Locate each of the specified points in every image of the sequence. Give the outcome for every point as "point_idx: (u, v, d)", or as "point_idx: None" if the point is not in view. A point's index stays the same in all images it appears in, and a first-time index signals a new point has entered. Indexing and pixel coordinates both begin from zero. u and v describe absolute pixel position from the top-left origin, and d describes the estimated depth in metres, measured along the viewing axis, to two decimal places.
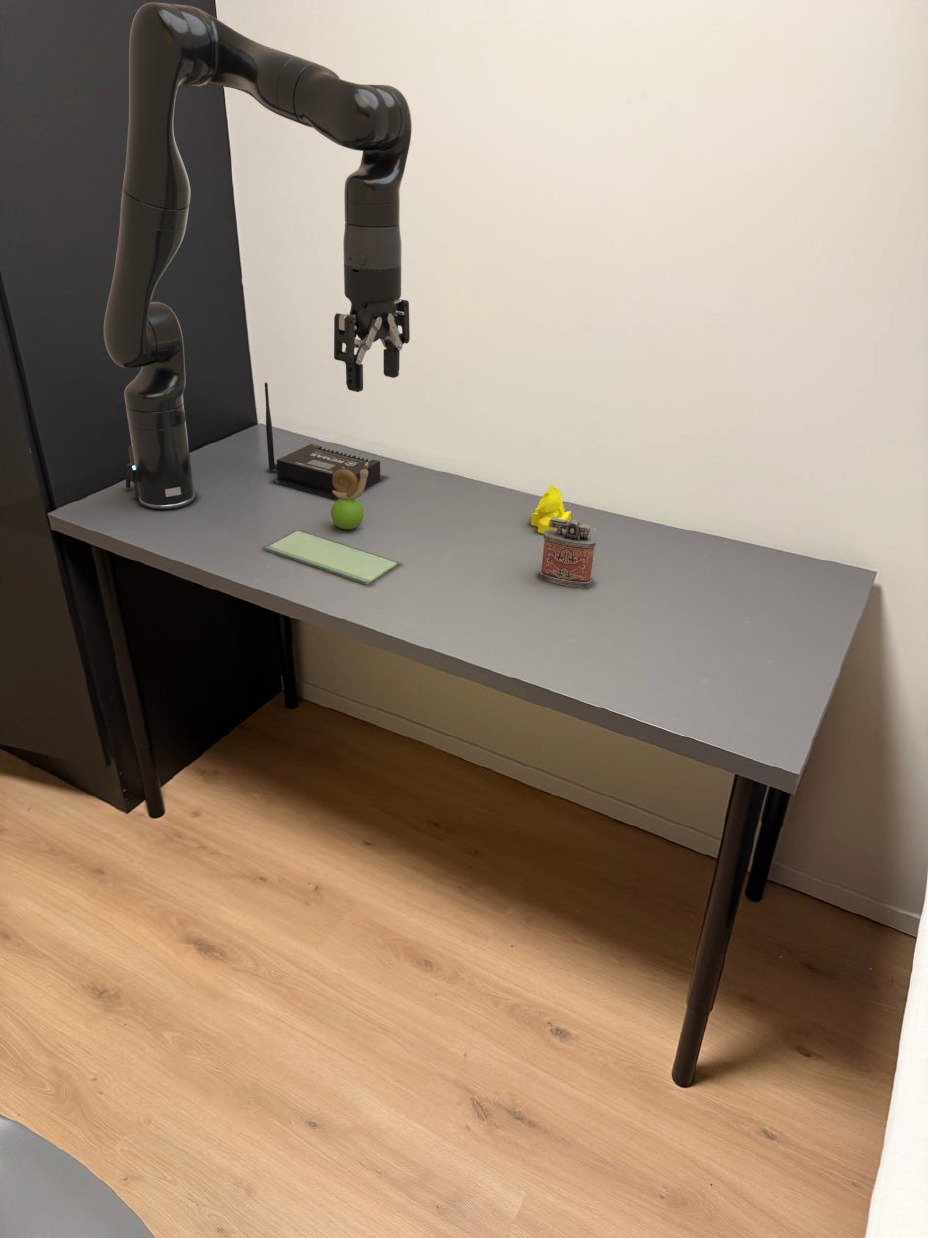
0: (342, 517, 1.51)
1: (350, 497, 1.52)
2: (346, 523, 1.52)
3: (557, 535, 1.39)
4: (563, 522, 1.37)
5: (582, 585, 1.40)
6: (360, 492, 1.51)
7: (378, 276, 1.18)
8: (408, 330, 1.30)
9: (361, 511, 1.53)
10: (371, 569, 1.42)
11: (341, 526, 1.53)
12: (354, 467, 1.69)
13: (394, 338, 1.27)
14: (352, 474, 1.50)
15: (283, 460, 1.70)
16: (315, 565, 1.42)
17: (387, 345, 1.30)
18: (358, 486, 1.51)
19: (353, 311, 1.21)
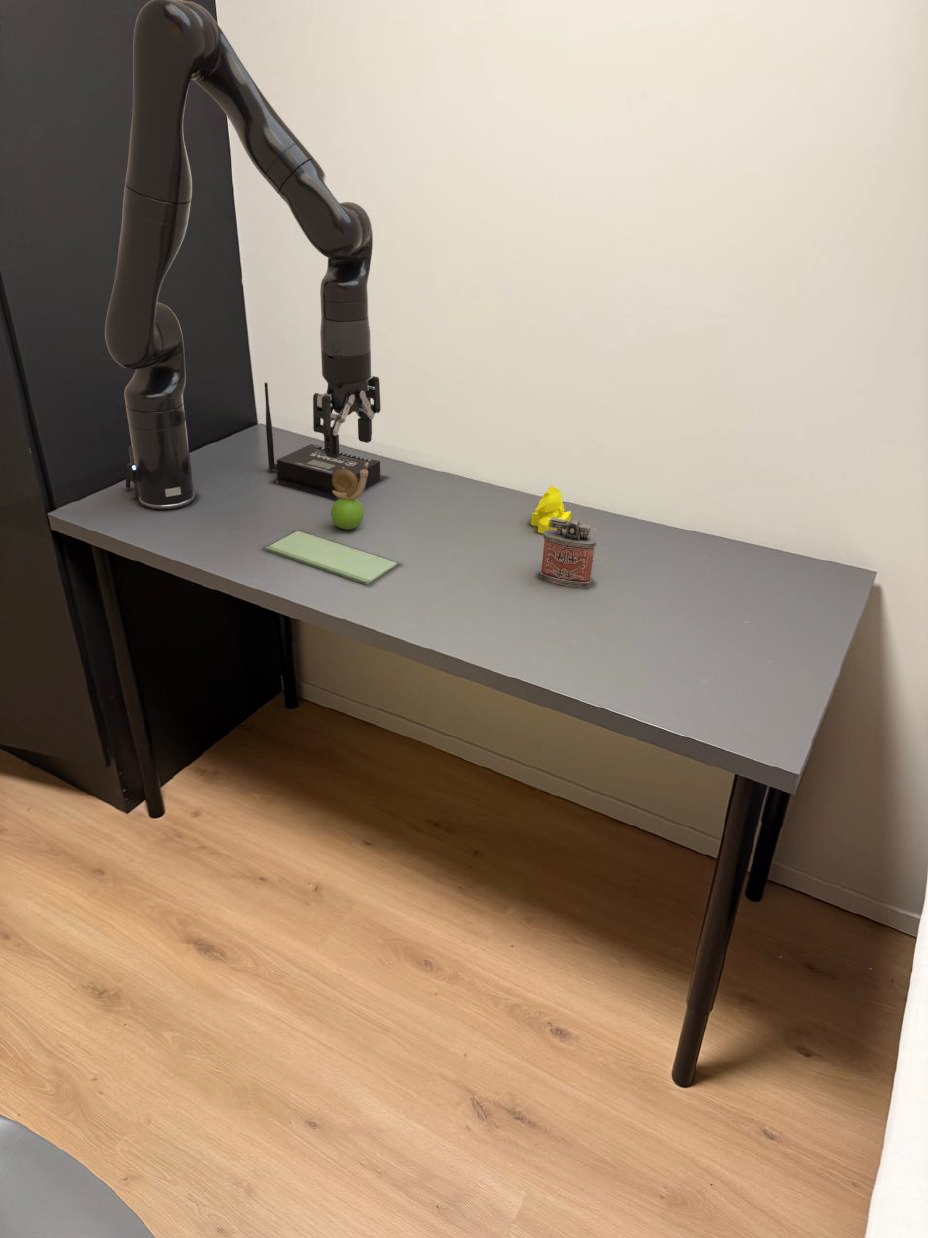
0: (342, 517, 1.51)
1: (350, 497, 1.52)
2: (346, 523, 1.52)
3: (557, 535, 1.39)
4: (563, 522, 1.37)
5: (582, 585, 1.40)
6: (360, 492, 1.51)
7: (350, 361, 1.37)
8: (379, 402, 1.49)
9: (361, 511, 1.53)
10: (371, 569, 1.42)
11: (341, 526, 1.53)
12: (354, 467, 1.69)
13: (366, 410, 1.46)
14: (352, 474, 1.50)
15: (283, 460, 1.70)
16: (315, 565, 1.42)
17: (361, 415, 1.49)
18: (358, 486, 1.51)
19: (329, 390, 1.40)
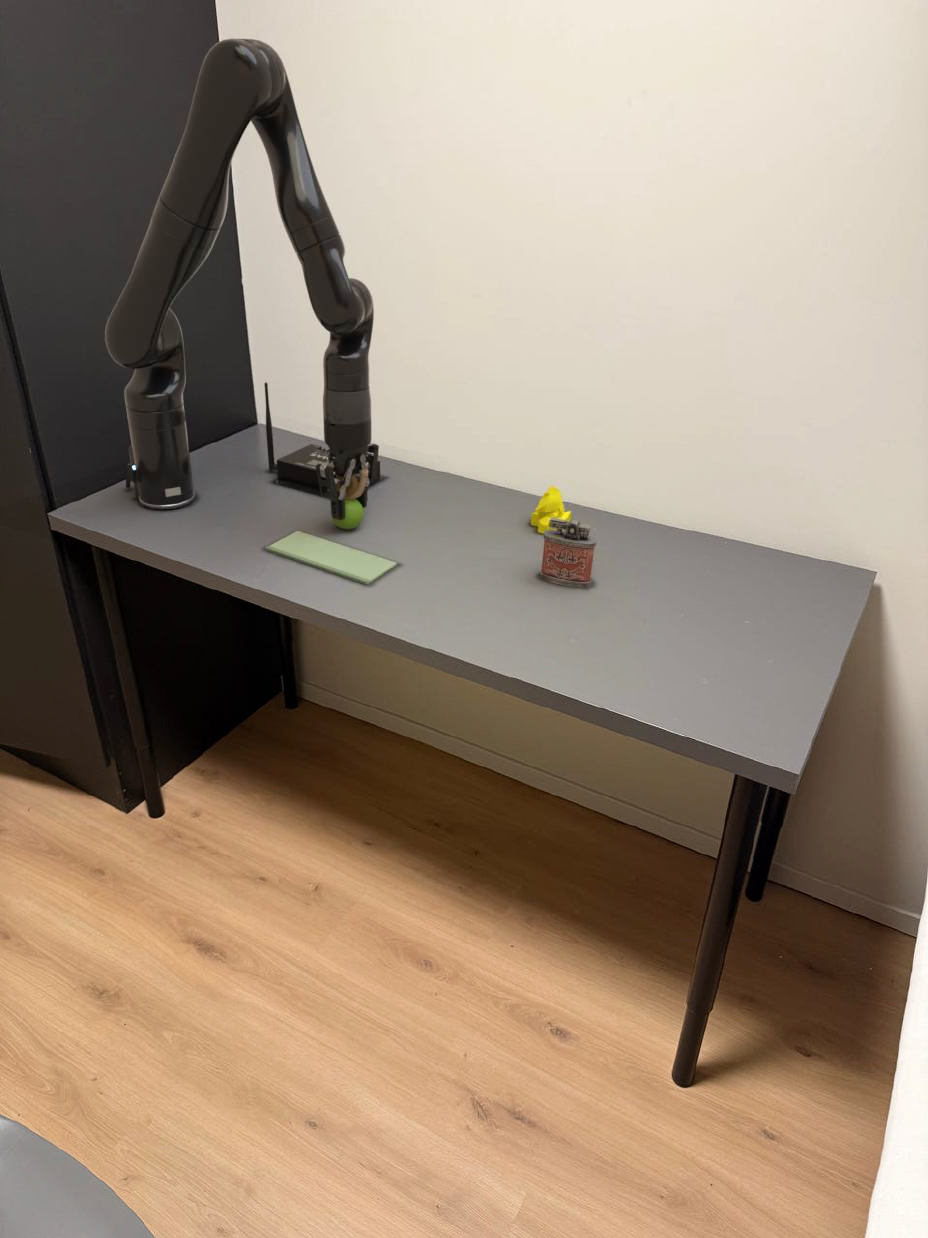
0: None
1: (350, 497, 1.52)
2: (346, 523, 1.52)
3: (557, 535, 1.39)
4: (563, 522, 1.37)
5: (582, 585, 1.40)
6: (360, 492, 1.51)
7: (351, 429, 1.43)
8: (375, 469, 1.54)
9: (361, 511, 1.53)
10: (371, 569, 1.42)
11: (341, 526, 1.53)
12: None
13: None
14: None
15: (283, 460, 1.70)
16: (315, 565, 1.42)
17: None
18: (358, 486, 1.51)
19: (331, 457, 1.45)
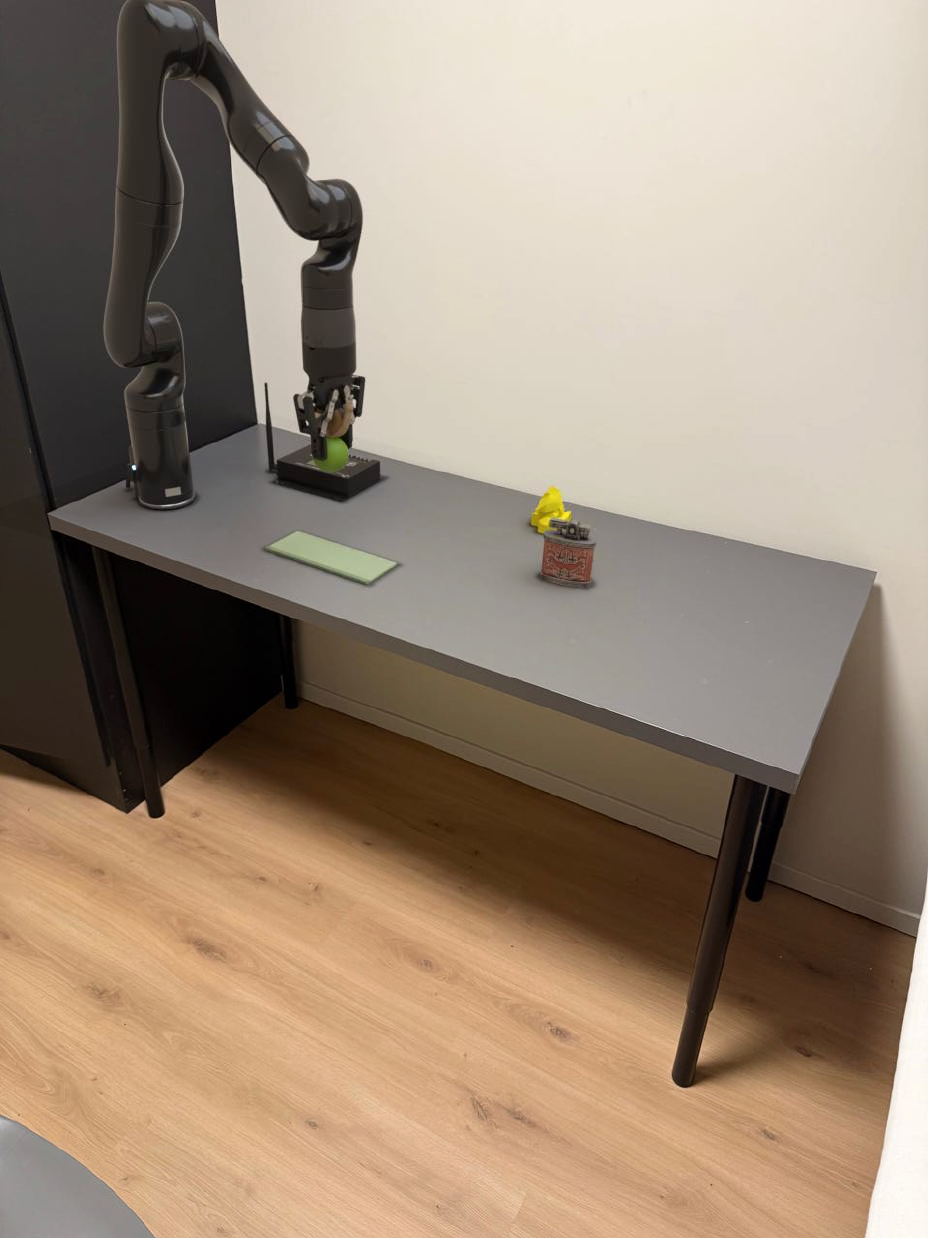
0: None
1: (333, 435, 1.35)
2: (329, 464, 1.35)
3: (557, 535, 1.39)
4: (563, 522, 1.37)
5: (582, 585, 1.40)
6: (344, 429, 1.34)
7: (333, 354, 1.26)
8: (361, 405, 1.37)
9: (346, 451, 1.36)
10: (371, 569, 1.42)
11: (323, 468, 1.36)
12: (354, 467, 1.69)
13: None
14: None
15: (283, 460, 1.70)
16: (315, 565, 1.42)
17: None
18: (342, 422, 1.34)
19: (310, 387, 1.28)
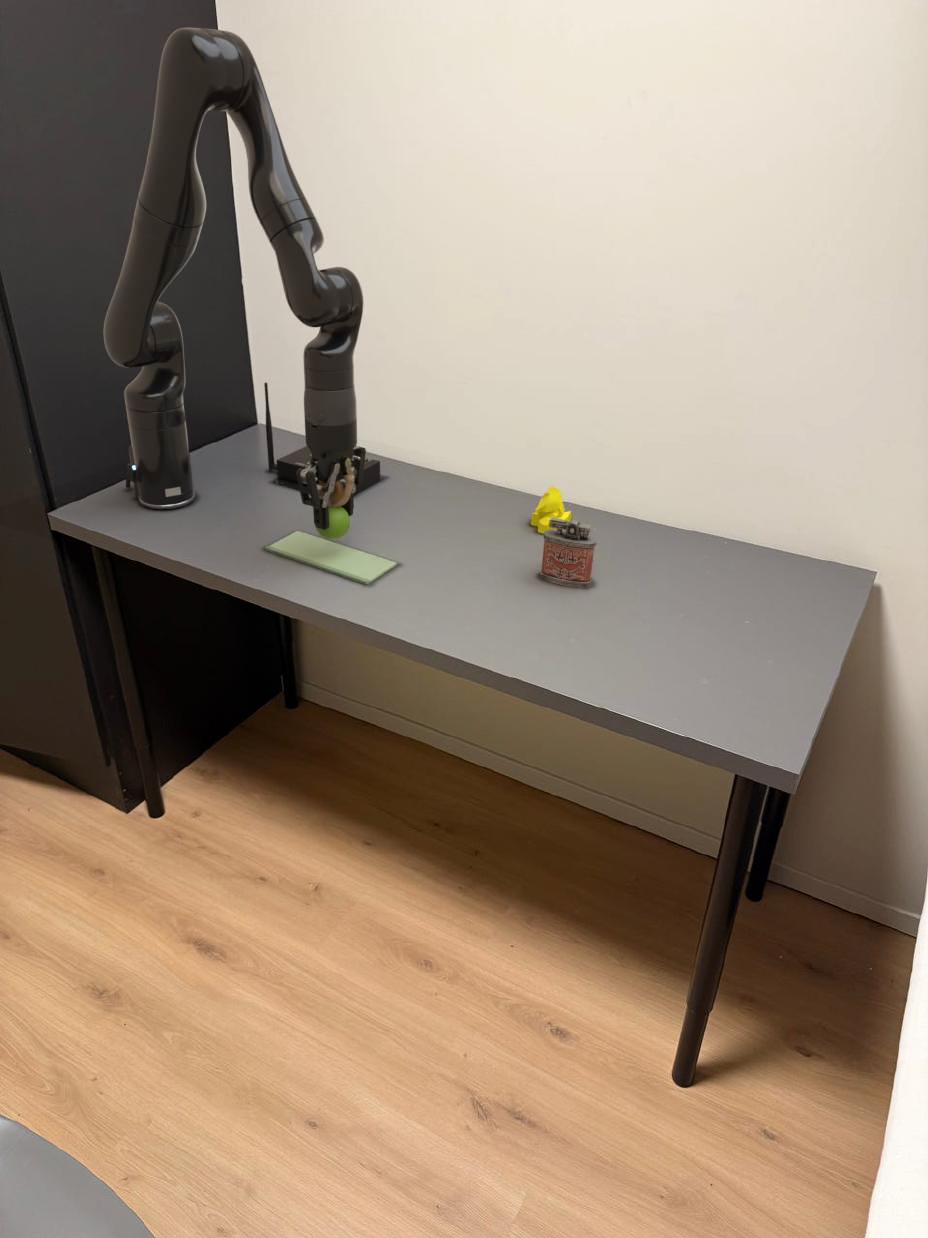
0: None
1: (335, 505, 1.40)
2: (330, 533, 1.40)
3: (557, 535, 1.39)
4: (563, 522, 1.37)
5: (582, 585, 1.40)
6: (346, 499, 1.39)
7: (335, 431, 1.31)
8: (362, 474, 1.43)
9: (347, 520, 1.41)
10: (371, 569, 1.42)
11: (325, 536, 1.41)
12: None
13: None
14: None
15: (283, 460, 1.70)
16: (315, 565, 1.42)
17: None
18: (343, 493, 1.39)
19: (312, 461, 1.34)
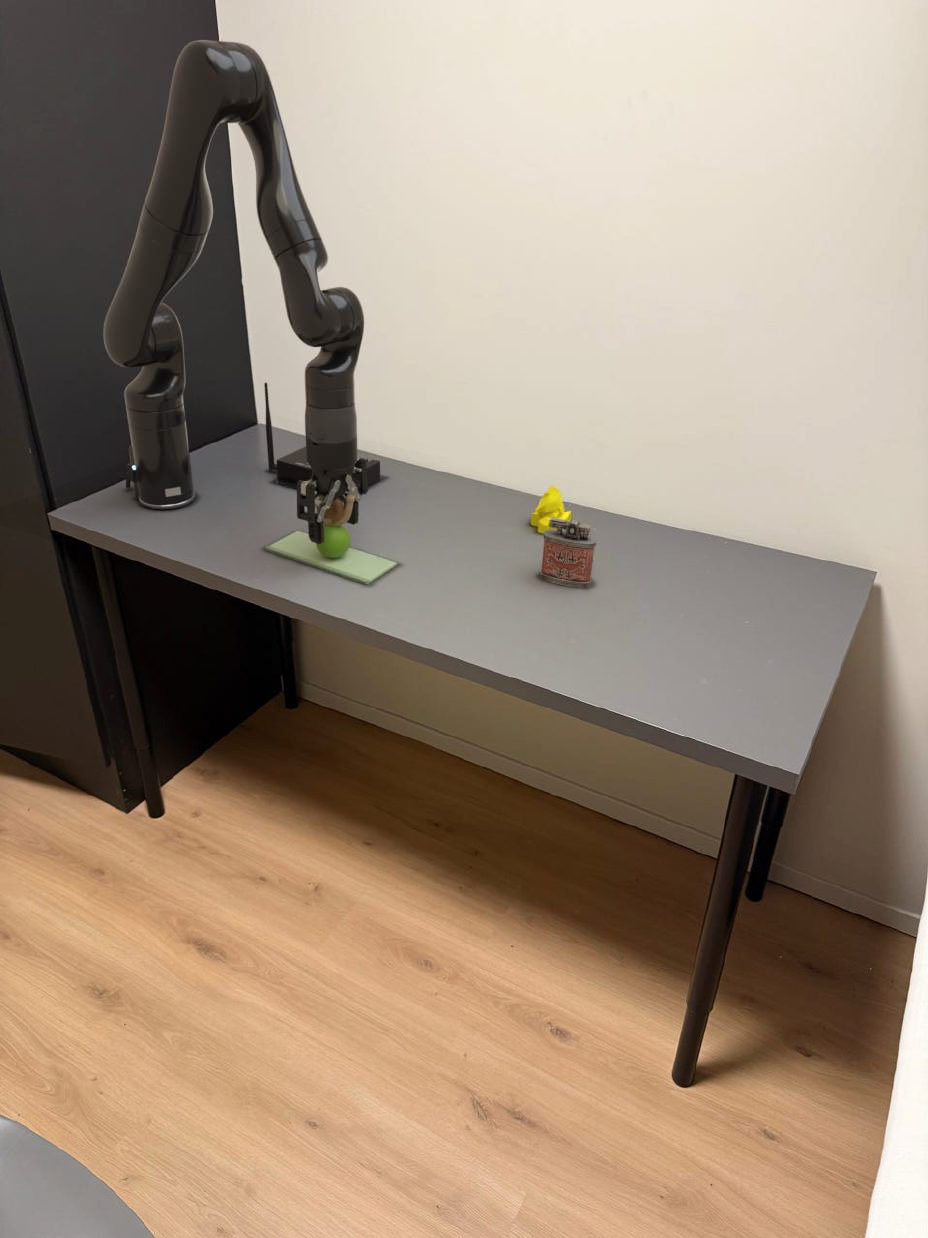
0: (327, 545, 1.41)
1: (335, 524, 1.42)
2: (331, 551, 1.42)
3: (557, 535, 1.39)
4: (563, 522, 1.37)
5: (582, 585, 1.40)
6: (346, 518, 1.41)
7: (335, 449, 1.32)
8: (366, 483, 1.44)
9: (347, 538, 1.43)
10: (371, 569, 1.42)
11: (326, 555, 1.43)
12: None
13: None
14: (338, 499, 1.40)
15: (283, 460, 1.70)
16: (315, 565, 1.42)
17: None
18: (344, 512, 1.41)
19: (314, 476, 1.35)
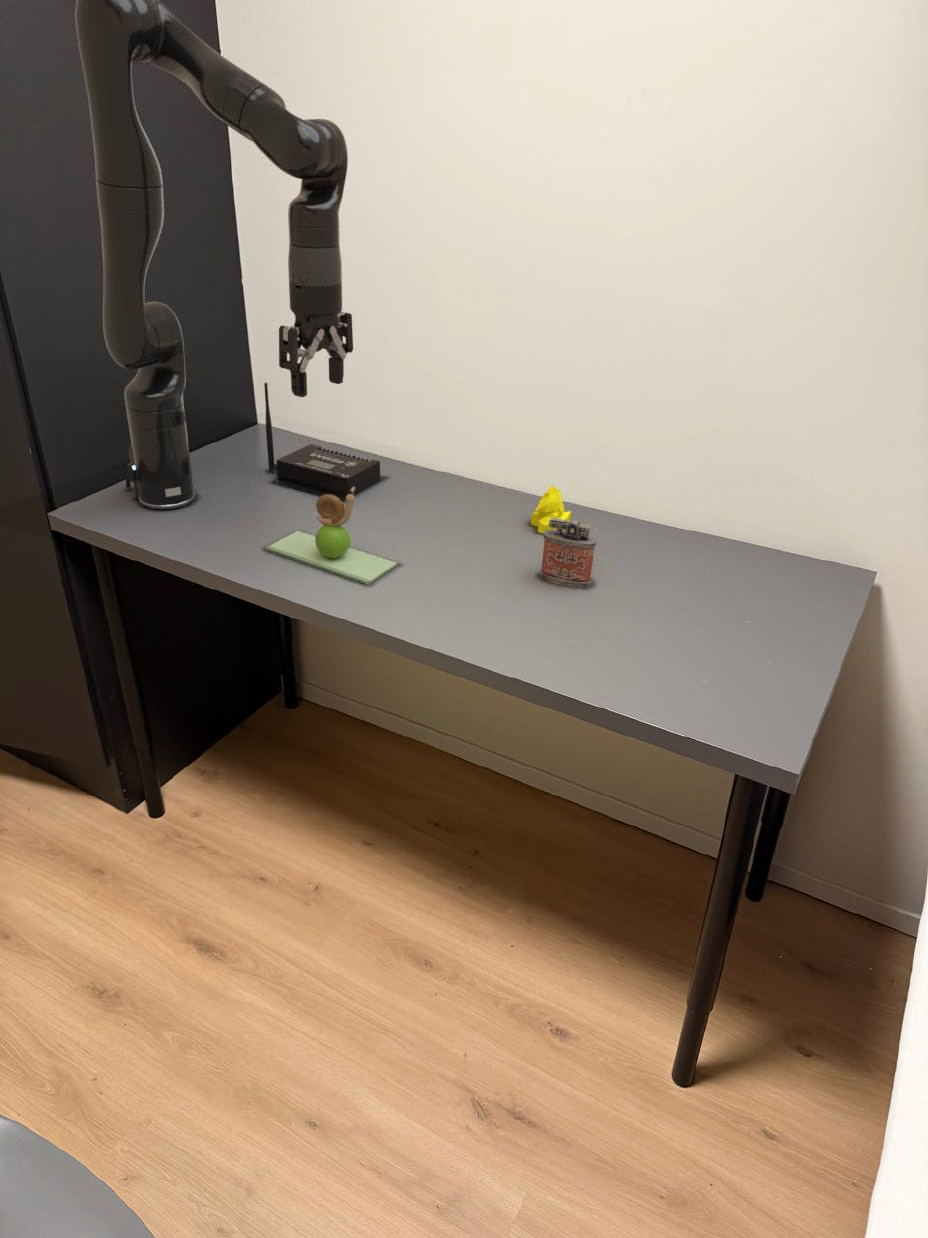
0: (327, 545, 1.41)
1: (335, 524, 1.42)
2: (331, 551, 1.42)
3: (557, 535, 1.39)
4: (563, 522, 1.37)
5: (582, 585, 1.40)
6: (346, 518, 1.41)
7: (319, 292, 1.29)
8: (351, 340, 1.41)
9: (347, 538, 1.43)
10: (371, 569, 1.42)
11: (326, 554, 1.43)
12: (354, 467, 1.69)
13: (337, 348, 1.38)
14: (338, 499, 1.40)
15: (283, 460, 1.70)
16: (315, 565, 1.42)
17: (332, 354, 1.41)
18: (344, 512, 1.41)
19: (297, 323, 1.32)
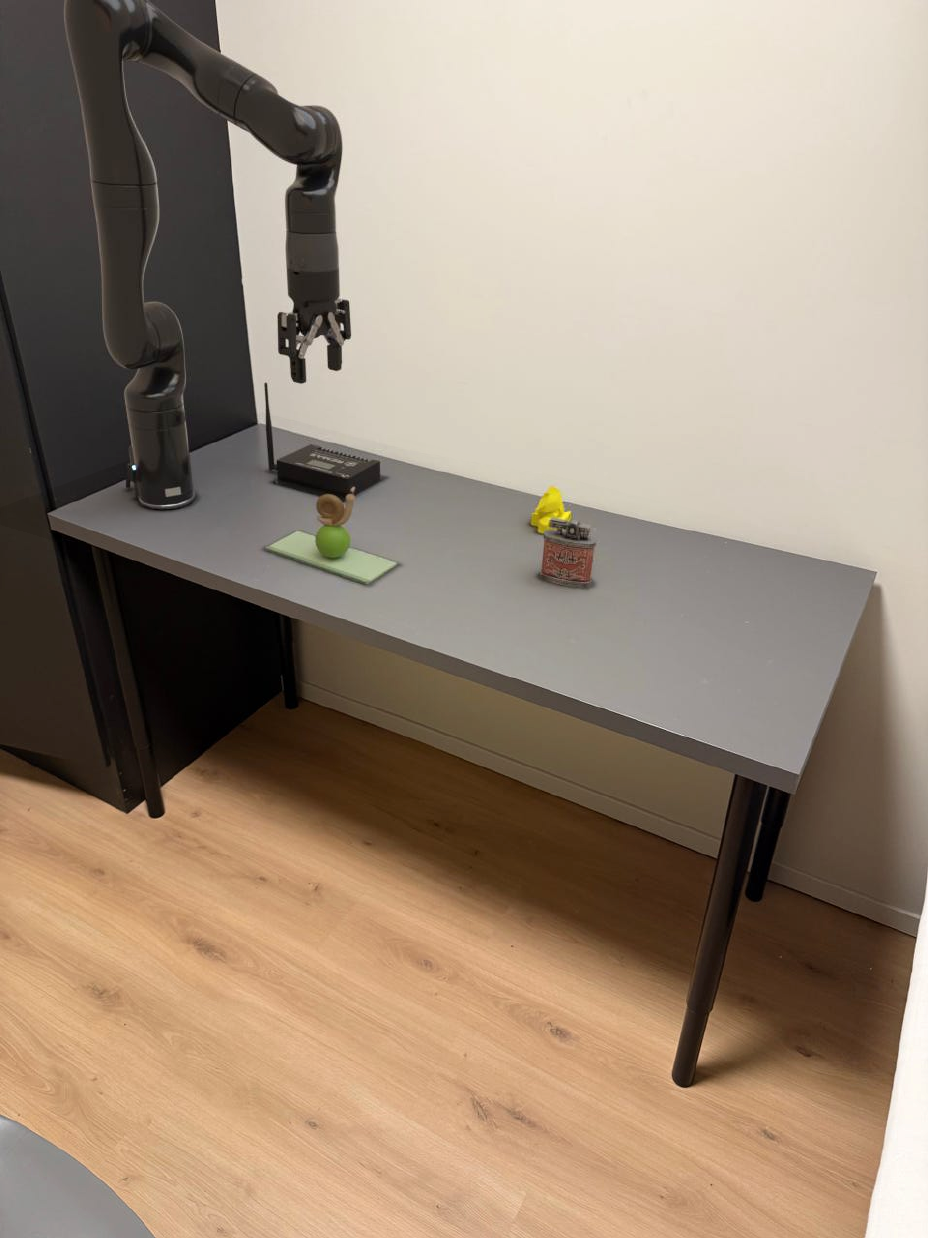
0: (327, 545, 1.41)
1: (335, 524, 1.42)
2: (331, 551, 1.42)
3: (557, 535, 1.39)
4: (563, 522, 1.37)
5: (582, 585, 1.40)
6: (346, 518, 1.41)
7: (317, 278, 1.30)
8: (349, 327, 1.42)
9: (347, 538, 1.43)
10: (371, 569, 1.42)
11: (326, 554, 1.43)
12: (354, 467, 1.69)
13: (335, 334, 1.39)
14: (338, 499, 1.40)
15: (283, 460, 1.70)
16: (315, 565, 1.42)
17: (330, 341, 1.42)
18: (344, 512, 1.41)
19: (295, 310, 1.33)
